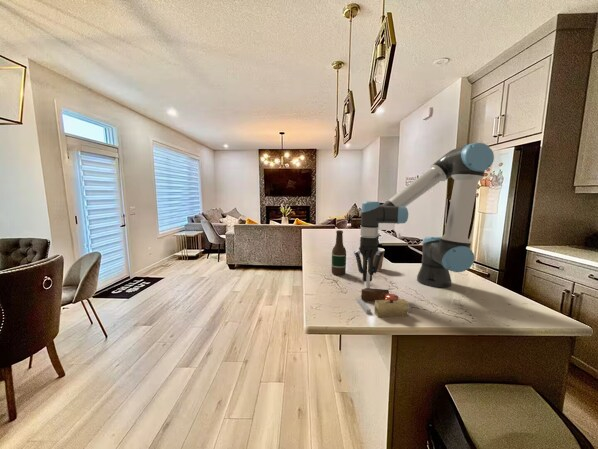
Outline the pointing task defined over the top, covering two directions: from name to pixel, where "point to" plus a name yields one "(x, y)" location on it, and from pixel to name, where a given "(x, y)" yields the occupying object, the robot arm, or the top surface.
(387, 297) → the red dome button
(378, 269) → the coffee cup
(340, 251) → the beer bottle
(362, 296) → the brick
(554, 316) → the top surface
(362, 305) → the rails
